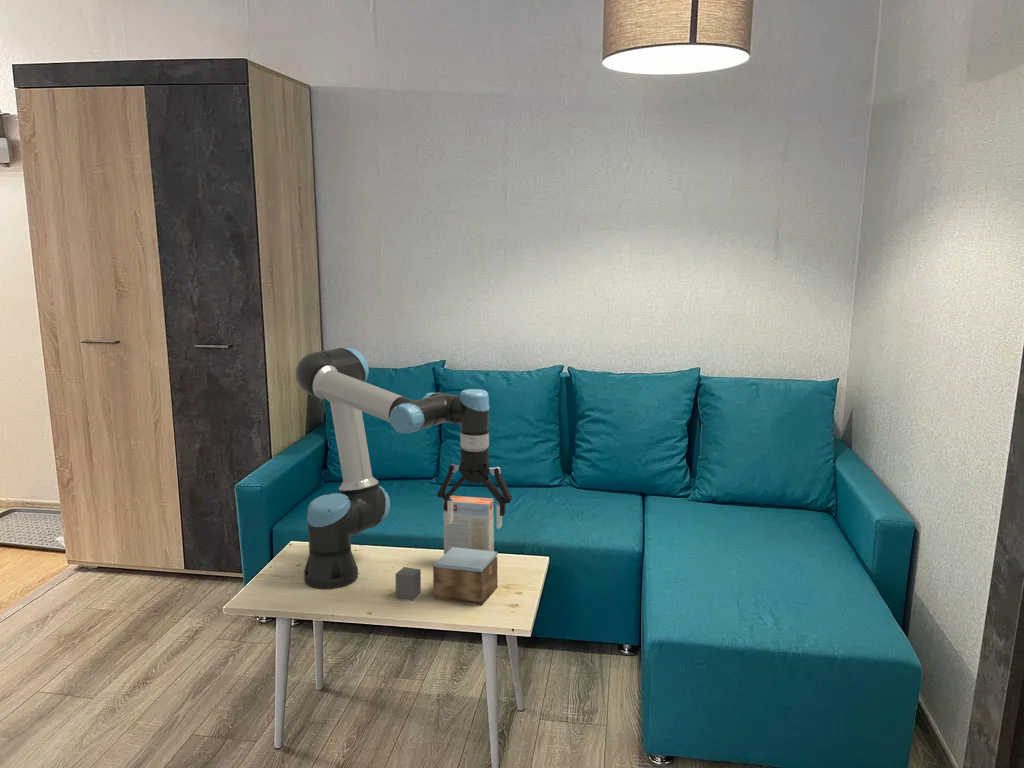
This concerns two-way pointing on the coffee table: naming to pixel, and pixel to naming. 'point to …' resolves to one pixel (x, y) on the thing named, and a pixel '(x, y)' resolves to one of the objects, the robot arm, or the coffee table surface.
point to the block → (408, 583)
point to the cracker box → (470, 524)
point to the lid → (466, 559)
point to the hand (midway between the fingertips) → (474, 524)
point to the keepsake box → (465, 584)
